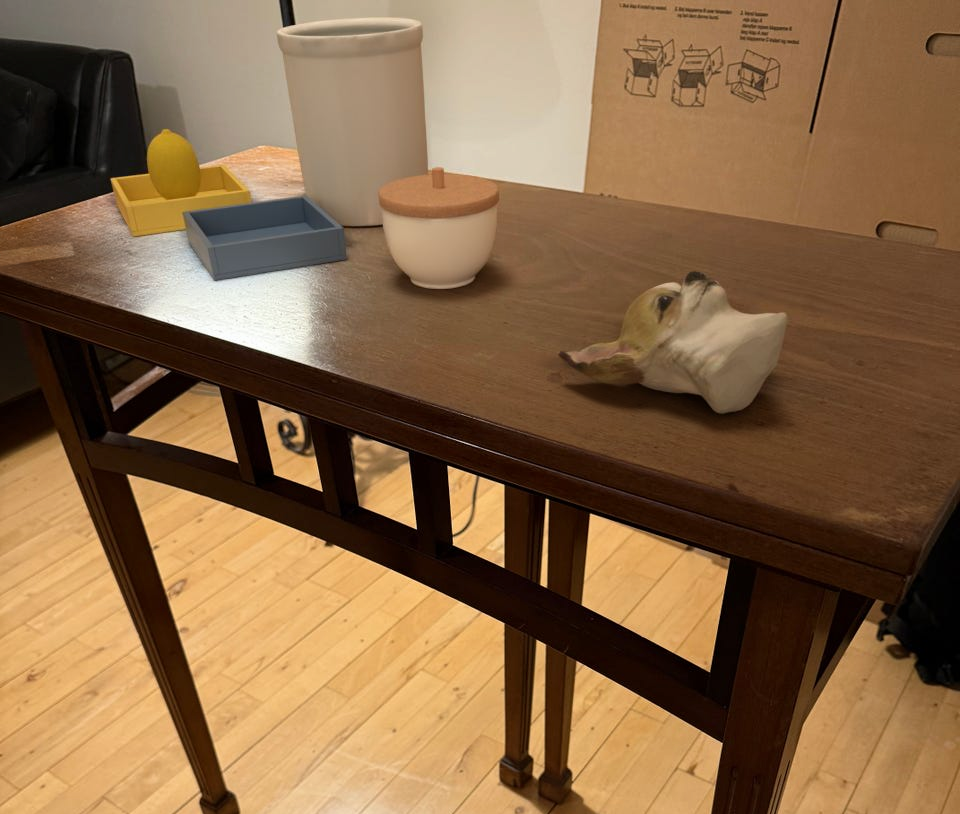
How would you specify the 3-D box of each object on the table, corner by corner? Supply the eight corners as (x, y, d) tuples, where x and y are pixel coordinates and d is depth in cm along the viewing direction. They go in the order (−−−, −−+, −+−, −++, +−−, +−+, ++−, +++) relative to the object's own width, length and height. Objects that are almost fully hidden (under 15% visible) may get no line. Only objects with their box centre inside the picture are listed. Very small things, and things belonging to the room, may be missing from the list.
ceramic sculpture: (747, 312, 54) (550, 273, 62) (730, 447, 59) (552, 394, 67) (830, 268, 60) (641, 238, 68) (808, 394, 65) (635, 351, 73)
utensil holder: (276, 222, 100) (247, 32, 89) (342, 188, 111) (323, 14, 99) (396, 235, 96) (381, 37, 84) (452, 198, 106) (446, 17, 95)
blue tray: (214, 280, 86) (207, 247, 84) (188, 242, 95) (182, 211, 93) (347, 259, 90) (343, 227, 88) (310, 224, 99) (306, 195, 97)
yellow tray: (133, 236, 97) (125, 206, 95) (117, 206, 106) (110, 178, 104) (254, 219, 101) (249, 190, 99) (229, 191, 110) (224, 164, 108)
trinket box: (362, 281, 85) (350, 171, 79) (439, 252, 91) (434, 148, 85) (446, 307, 80) (441, 191, 74) (522, 274, 86) (523, 165, 80)
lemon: (214, 209, 103) (199, 129, 98) (167, 218, 100) (148, 137, 95) (197, 198, 106) (181, 121, 101) (150, 207, 104) (132, 128, 99)
